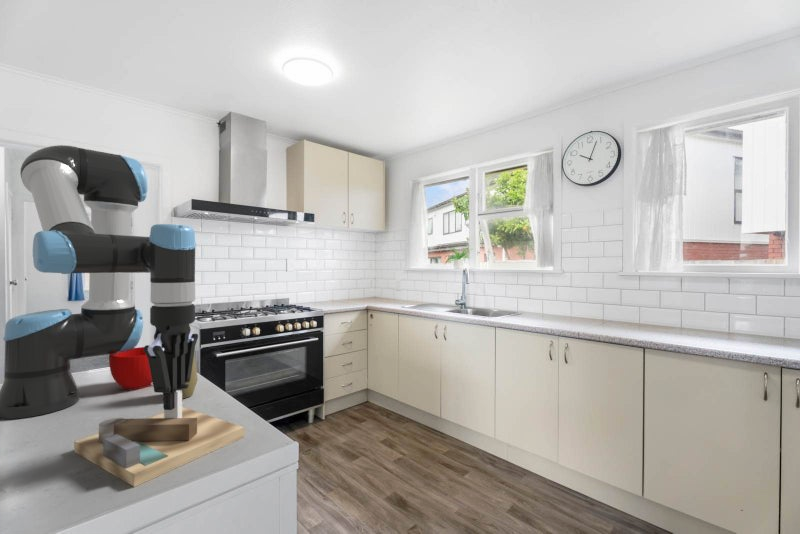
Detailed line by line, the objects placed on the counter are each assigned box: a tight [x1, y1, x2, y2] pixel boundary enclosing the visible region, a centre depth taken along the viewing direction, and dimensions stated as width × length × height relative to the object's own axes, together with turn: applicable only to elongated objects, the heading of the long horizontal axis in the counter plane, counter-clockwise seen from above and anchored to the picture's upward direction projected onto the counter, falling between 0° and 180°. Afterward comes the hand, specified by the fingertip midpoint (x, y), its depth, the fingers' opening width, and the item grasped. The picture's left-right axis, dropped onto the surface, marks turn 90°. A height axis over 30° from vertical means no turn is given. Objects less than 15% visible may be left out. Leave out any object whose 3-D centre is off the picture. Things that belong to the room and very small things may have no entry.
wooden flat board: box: [73, 406, 245, 488], centre depth 73 cm, size 22×20×5 cm
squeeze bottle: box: [183, 351, 199, 399], centre depth 100 cm, size 8×8×18 cm
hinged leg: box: [98, 417, 197, 443], centre depth 71 cm, size 17×4×3 cm, turn 93°
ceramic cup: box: [108, 346, 153, 390], centre depth 109 cm, size 13×17×10 cm
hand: (173, 423), depth 73 cm, fingers closed
